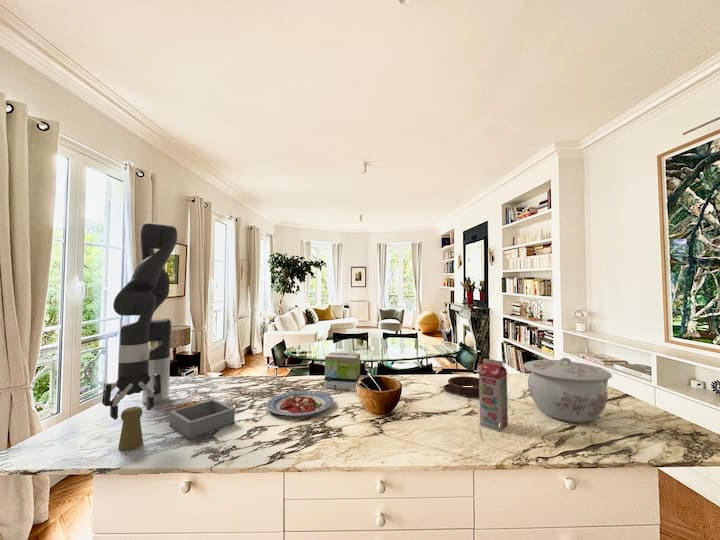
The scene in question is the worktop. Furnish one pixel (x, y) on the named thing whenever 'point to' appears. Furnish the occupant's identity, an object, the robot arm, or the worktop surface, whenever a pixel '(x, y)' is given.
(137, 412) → the cork
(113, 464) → the worktop surface
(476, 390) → the dish
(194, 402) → the pastry
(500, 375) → the juice carton
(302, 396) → the ceramic plate
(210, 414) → the bin
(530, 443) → the worktop surface
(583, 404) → the chamber pot
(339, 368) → the tea box
